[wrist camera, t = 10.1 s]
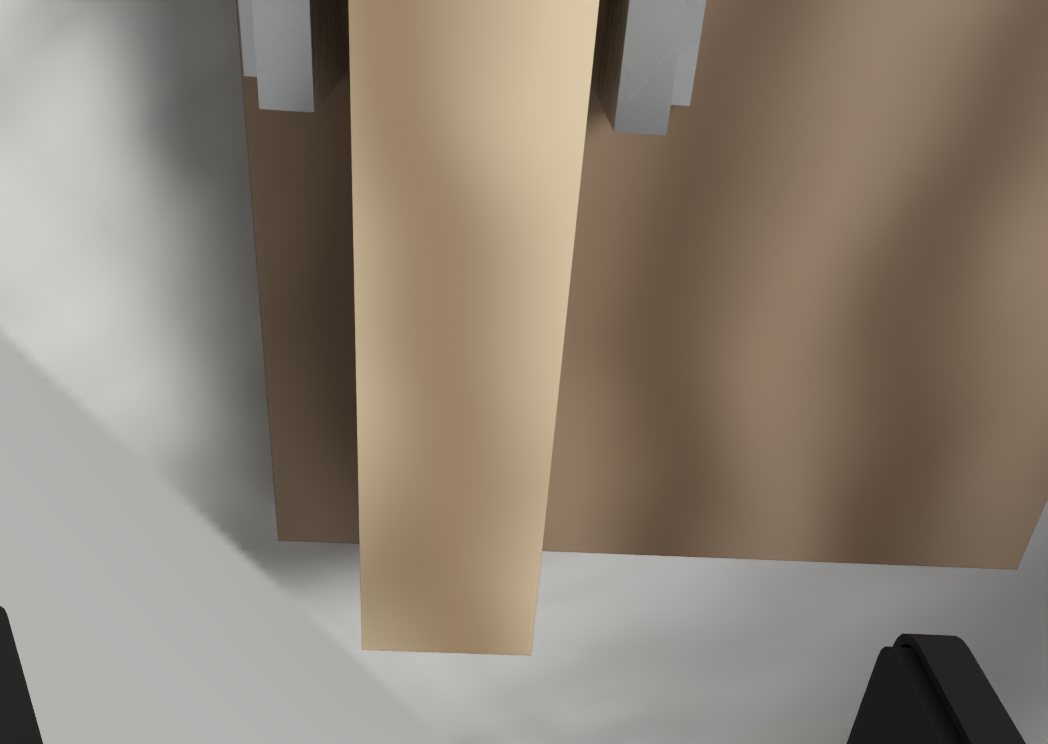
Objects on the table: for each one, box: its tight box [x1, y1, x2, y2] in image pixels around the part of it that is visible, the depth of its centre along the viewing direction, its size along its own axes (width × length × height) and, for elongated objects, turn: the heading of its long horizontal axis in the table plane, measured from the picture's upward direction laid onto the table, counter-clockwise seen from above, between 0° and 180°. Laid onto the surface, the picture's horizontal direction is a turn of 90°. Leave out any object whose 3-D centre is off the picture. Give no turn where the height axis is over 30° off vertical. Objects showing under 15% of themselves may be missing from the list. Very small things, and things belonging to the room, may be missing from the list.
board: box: [236, 0, 1048, 570], centre depth 21 cm, size 22×23×2 cm
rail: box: [348, 0, 599, 656], centre depth 19 cm, size 4×18×5 cm, turn 176°
